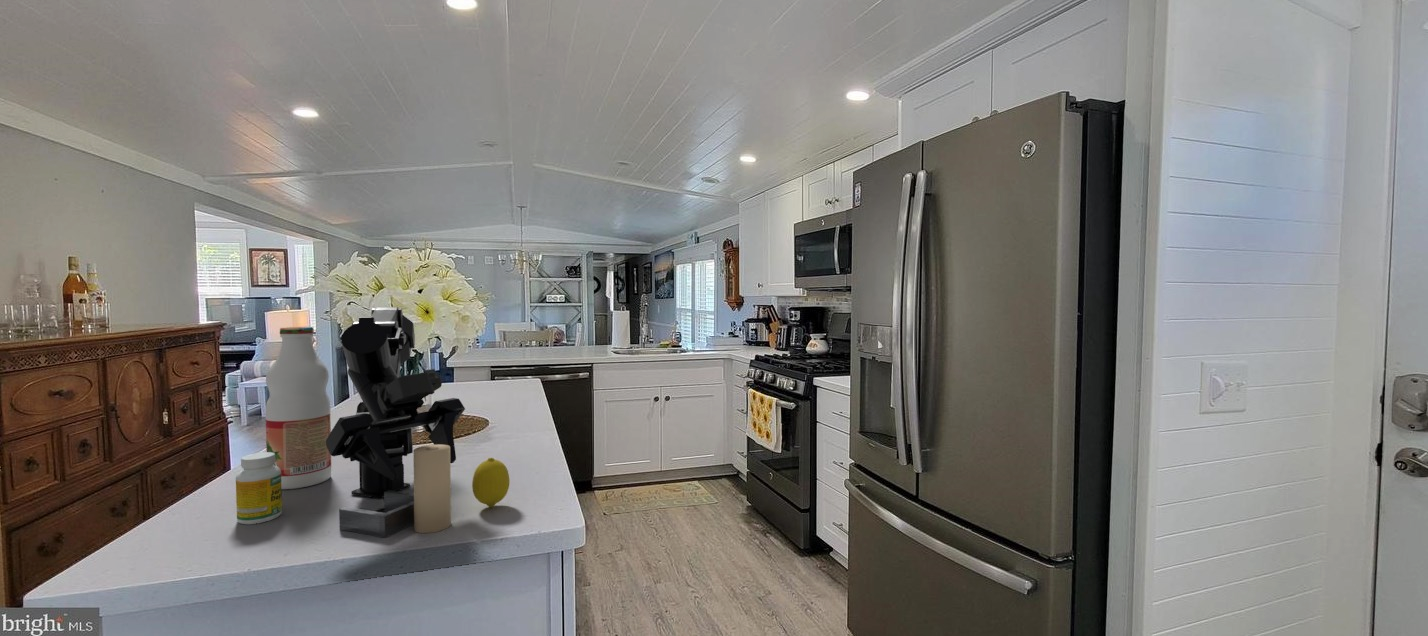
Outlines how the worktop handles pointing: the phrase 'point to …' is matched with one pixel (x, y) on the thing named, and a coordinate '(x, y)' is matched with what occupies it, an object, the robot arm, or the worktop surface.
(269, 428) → the fruit juice
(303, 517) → the worktop surface
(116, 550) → the worktop surface
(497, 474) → the lemon
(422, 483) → the paper roll
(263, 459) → the supplement bottle
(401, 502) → the holder
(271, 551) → the worktop surface
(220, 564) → the worktop surface
